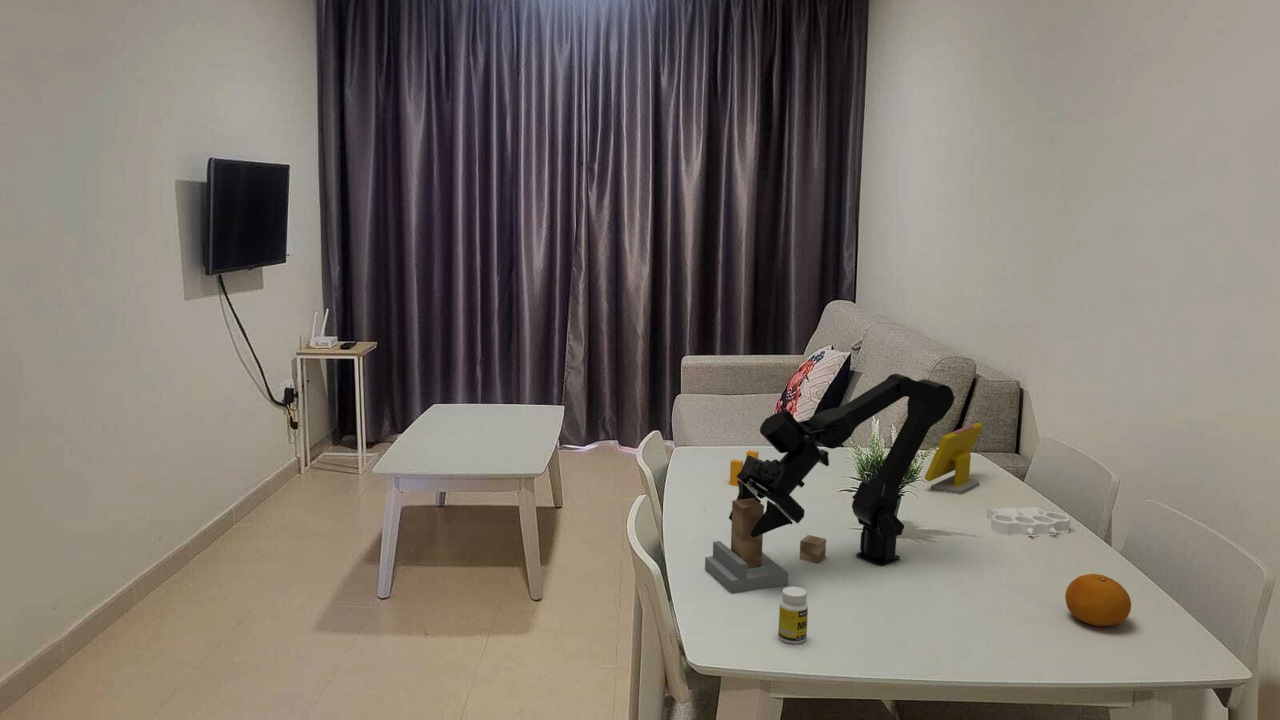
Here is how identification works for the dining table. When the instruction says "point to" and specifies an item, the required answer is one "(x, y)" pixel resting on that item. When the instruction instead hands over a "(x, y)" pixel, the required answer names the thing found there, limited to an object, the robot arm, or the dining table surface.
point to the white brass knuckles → (1027, 521)
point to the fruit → (1098, 600)
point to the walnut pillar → (746, 531)
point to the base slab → (743, 571)
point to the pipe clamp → (739, 467)
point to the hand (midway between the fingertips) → (740, 527)
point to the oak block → (812, 548)
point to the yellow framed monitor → (954, 460)
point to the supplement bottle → (793, 615)
